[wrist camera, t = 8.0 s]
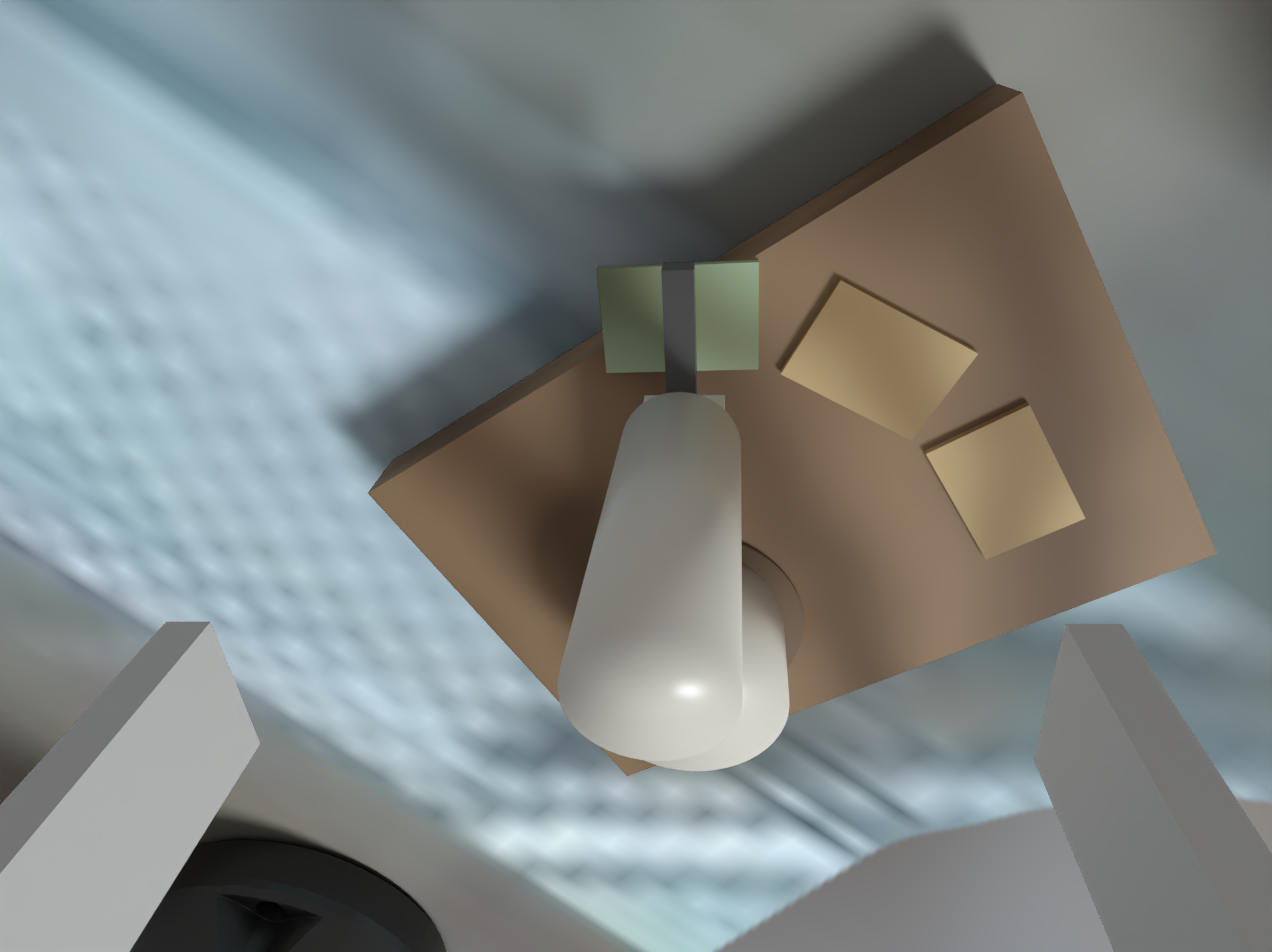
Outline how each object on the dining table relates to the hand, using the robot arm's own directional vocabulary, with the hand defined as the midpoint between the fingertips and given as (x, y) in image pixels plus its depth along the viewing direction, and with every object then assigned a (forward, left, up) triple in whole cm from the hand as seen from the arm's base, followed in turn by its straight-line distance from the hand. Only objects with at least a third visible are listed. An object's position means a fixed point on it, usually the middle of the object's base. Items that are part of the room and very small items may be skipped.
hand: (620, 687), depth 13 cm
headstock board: (0, -5, -13) cm, 14 cm away
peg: (-1, -3, -11) cm, 11 cm away
